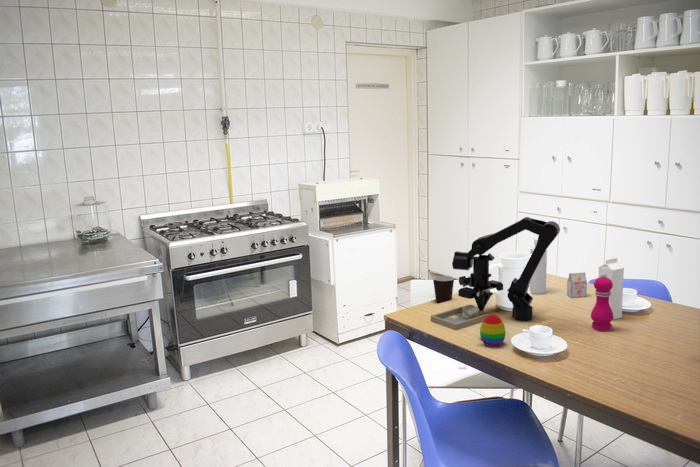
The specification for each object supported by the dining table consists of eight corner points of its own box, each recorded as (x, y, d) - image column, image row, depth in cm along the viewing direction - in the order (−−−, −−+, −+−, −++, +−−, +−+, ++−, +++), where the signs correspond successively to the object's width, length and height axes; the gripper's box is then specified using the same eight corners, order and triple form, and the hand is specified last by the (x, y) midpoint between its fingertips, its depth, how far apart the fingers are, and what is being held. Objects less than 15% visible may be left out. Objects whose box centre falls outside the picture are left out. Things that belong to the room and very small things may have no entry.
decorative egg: (510, 342, 191) (510, 314, 190) (496, 350, 186) (497, 320, 184) (488, 337, 197) (488, 309, 195) (475, 344, 192) (475, 315, 190)
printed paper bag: (566, 295, 240) (567, 272, 238) (582, 294, 241) (582, 271, 239) (571, 298, 237) (571, 274, 235) (586, 296, 237) (587, 273, 236)
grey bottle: (548, 291, 246) (549, 234, 242) (541, 295, 242) (542, 237, 237) (533, 289, 251) (534, 233, 246) (526, 292, 246) (527, 235, 242)
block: (478, 317, 213) (478, 306, 213) (470, 319, 211) (470, 309, 211) (470, 314, 217) (470, 304, 216) (462, 316, 214) (462, 306, 214)
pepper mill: (613, 326, 203) (615, 271, 199) (612, 332, 196) (615, 276, 193) (590, 323, 206) (592, 269, 202) (589, 330, 199) (591, 274, 196)
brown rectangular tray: (489, 323, 211) (489, 314, 210) (456, 334, 201) (455, 324, 201) (463, 314, 221) (463, 306, 221) (430, 324, 212) (430, 315, 211)
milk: (596, 316, 214) (598, 258, 210) (608, 313, 216) (610, 256, 212) (610, 320, 208) (612, 261, 204) (622, 317, 211) (624, 259, 207)
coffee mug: (448, 305, 233) (447, 282, 231) (429, 302, 238) (429, 279, 237) (461, 298, 242) (460, 275, 240) (442, 295, 247) (442, 273, 246)
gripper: (482, 263, 226) (482, 301, 229) (447, 271, 216) (448, 311, 218) (504, 268, 217) (504, 307, 220) (469, 277, 207) (469, 318, 209)
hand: (481, 311), depth 217 cm, fingers closed
